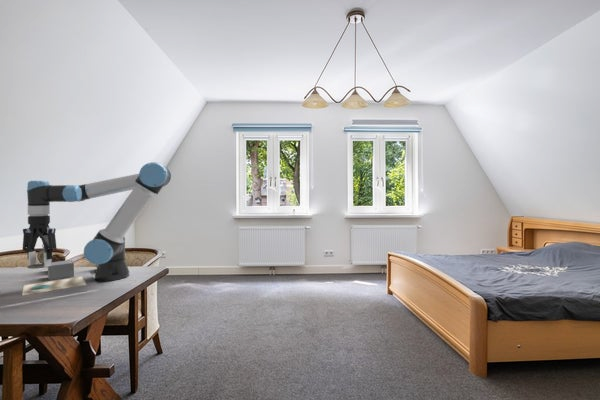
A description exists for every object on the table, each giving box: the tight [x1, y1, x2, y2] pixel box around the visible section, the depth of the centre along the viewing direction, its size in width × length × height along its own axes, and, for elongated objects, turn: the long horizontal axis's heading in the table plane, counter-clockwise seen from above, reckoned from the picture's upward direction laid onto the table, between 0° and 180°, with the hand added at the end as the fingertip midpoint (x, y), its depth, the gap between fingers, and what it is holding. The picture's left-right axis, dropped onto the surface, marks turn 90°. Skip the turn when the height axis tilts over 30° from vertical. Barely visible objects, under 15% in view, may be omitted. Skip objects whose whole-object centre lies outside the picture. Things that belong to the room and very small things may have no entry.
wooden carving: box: [51, 253, 66, 262], centre depth 169 cm, size 16×5×10 cm, turn 68°
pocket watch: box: [27, 244, 45, 270], centre depth 137 cm, size 8×8×10 cm
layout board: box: [21, 276, 87, 296], centre depth 140 cm, size 22×19×1 cm
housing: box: [47, 259, 75, 281], centre depth 155 cm, size 10×10×8 cm
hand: (40, 266), depth 137 cm, fingers closed on pocket watch, 7 cm apart
